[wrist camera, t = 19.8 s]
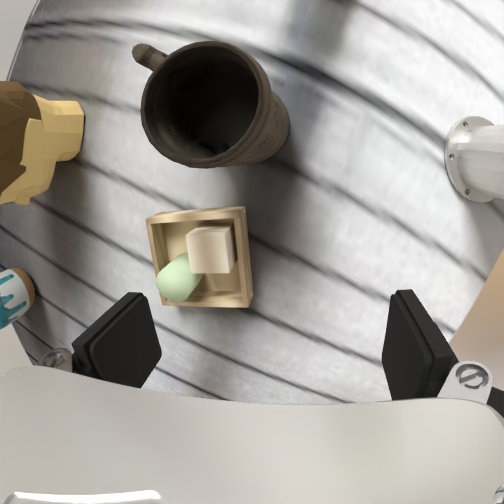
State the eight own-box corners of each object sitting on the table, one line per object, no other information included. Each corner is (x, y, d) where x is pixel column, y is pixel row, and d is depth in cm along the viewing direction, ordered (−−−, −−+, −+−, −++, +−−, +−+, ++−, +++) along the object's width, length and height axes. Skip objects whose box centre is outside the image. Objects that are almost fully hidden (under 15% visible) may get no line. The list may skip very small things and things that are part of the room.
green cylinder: (202, 251, 43) (187, 267, 37) (206, 283, 44) (193, 302, 39) (170, 253, 44) (153, 267, 38) (176, 283, 45) (160, 301, 40)
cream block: (235, 221, 41) (224, 233, 35) (239, 256, 42) (229, 273, 37) (201, 223, 42) (185, 235, 36) (205, 257, 43) (191, 273, 37)
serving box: (245, 206, 40) (238, 212, 36) (253, 293, 44) (248, 307, 40) (159, 212, 43) (145, 219, 39) (173, 292, 47) (162, 305, 43)
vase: (47, 288, 53) (-15, 330, 35) (35, 311, 56) (-18, 352, 38) (21, 252, 51) (-42, 285, 33) (11, 278, 55) (-43, 312, 37)
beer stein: (310, 116, 35) (300, 68, 16) (264, 182, 39) (210, 199, 20) (216, 62, 35) (139, 1, 17) (176, 124, 39) (76, 107, 20)
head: (30, 211, 45) (-75, 226, 21) (50, 104, 41) (-51, 78, 17) (78, 225, 44) (-45, 249, 20) (101, 102, 40) (-14, 58, 16)
